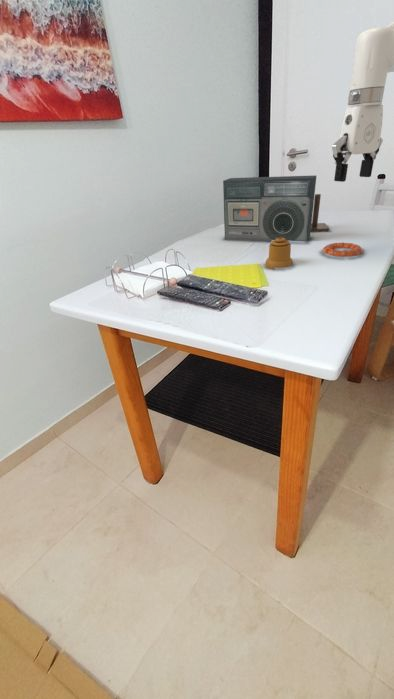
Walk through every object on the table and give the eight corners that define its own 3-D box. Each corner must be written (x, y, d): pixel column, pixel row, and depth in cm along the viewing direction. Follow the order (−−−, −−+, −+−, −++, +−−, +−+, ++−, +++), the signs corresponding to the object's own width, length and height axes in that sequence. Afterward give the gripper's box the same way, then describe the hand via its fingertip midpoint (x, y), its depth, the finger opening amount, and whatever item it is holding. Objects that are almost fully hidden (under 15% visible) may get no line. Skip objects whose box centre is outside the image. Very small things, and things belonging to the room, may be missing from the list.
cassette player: (224, 241, 124) (223, 180, 113) (231, 236, 129) (230, 178, 118) (306, 244, 112) (312, 178, 102) (309, 239, 117) (316, 175, 107)
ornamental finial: (284, 273, 92) (260, 268, 96) (296, 265, 96) (273, 261, 101) (286, 243, 87) (261, 240, 92) (299, 236, 92) (275, 234, 96)
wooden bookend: (324, 226, 130) (328, 191, 124) (328, 232, 123) (333, 195, 116) (300, 227, 132) (303, 193, 125) (302, 233, 125) (306, 197, 118)
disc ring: (356, 249, 105) (357, 241, 103) (365, 259, 96) (367, 251, 94) (320, 249, 107) (321, 242, 105) (325, 260, 98) (327, 252, 96)
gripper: (353, 98, 74) (341, 184, 83) (403, 96, 81) (386, 175, 90) (326, 102, 80) (318, 182, 89) (375, 100, 86) (362, 174, 95)
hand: (352, 178), depth 89 cm, fingers open, 9 cm apart
